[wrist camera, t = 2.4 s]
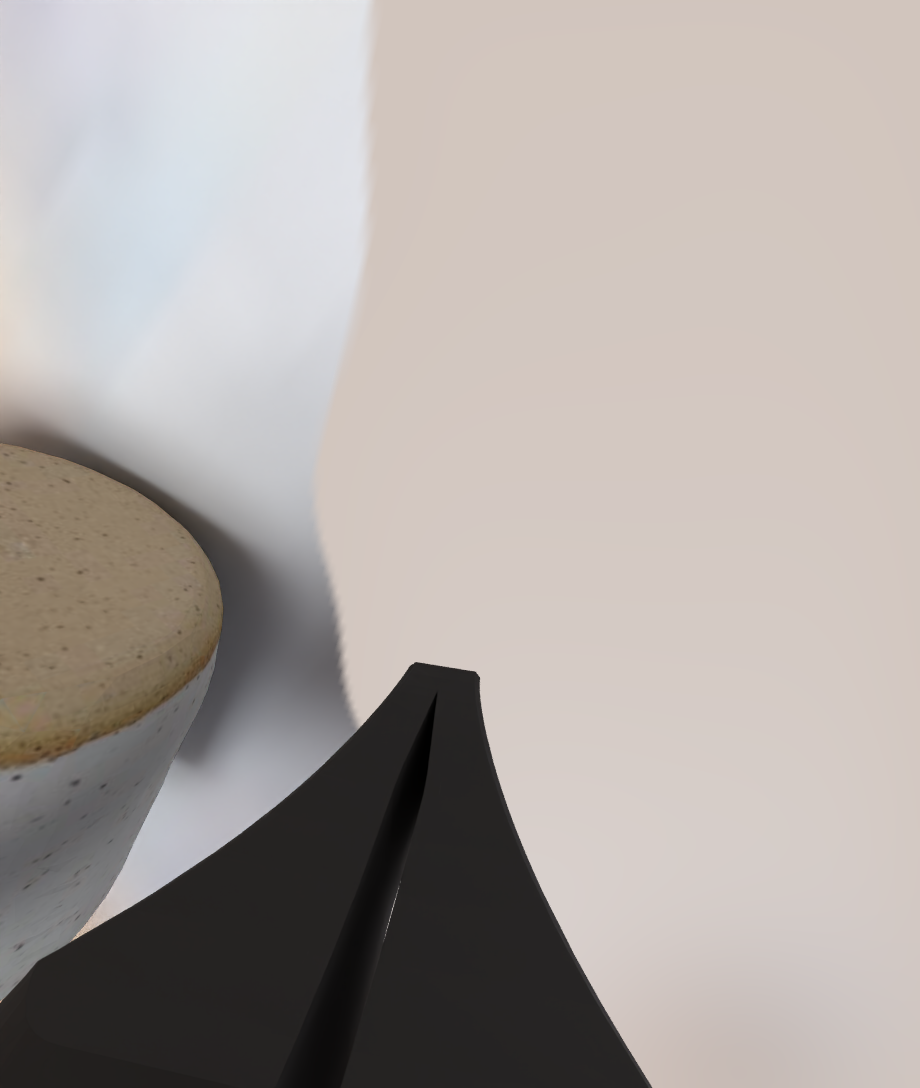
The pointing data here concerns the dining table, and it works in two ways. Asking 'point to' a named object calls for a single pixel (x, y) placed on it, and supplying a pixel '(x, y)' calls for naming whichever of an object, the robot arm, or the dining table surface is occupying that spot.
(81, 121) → the dining table surface
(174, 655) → the ceramic mug
